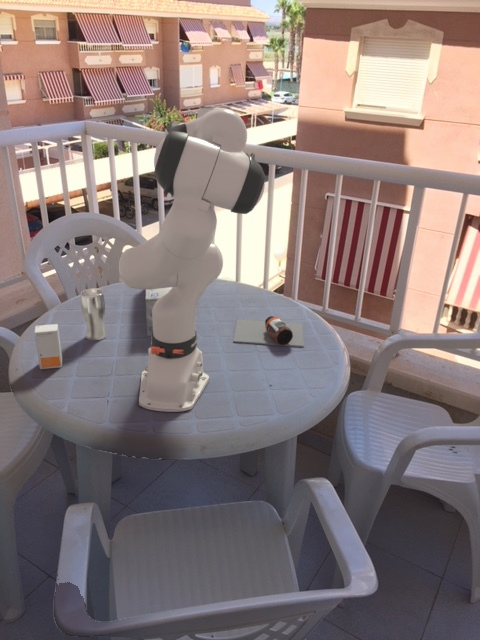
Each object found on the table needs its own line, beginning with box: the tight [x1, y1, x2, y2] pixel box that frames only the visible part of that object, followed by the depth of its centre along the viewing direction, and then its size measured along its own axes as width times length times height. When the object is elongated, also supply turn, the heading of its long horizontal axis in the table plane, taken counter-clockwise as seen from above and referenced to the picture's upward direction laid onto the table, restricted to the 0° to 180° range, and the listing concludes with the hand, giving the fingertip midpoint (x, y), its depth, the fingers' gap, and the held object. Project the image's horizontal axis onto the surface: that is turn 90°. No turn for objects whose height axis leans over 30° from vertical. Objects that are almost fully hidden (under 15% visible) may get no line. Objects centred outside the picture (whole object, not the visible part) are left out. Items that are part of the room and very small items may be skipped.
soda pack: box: [145, 287, 172, 337], centre depth 179 cm, size 41×13×14 cm, turn 8°
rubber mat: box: [232, 318, 305, 348], centre depth 168 cm, size 15×22×1 cm
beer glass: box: [80, 287, 107, 341], centre depth 159 cm, size 7×7×15 cm
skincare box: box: [34, 323, 63, 370], centre depth 145 cm, size 6×4×12 cm
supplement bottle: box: [264, 315, 293, 345], centre depth 164 cm, size 6×6×11 cm
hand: (209, 214), depth 154 cm, fingers closed
